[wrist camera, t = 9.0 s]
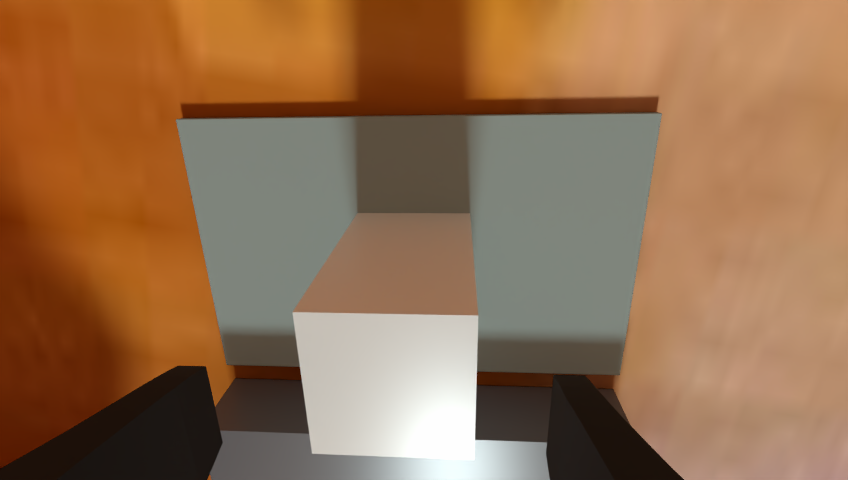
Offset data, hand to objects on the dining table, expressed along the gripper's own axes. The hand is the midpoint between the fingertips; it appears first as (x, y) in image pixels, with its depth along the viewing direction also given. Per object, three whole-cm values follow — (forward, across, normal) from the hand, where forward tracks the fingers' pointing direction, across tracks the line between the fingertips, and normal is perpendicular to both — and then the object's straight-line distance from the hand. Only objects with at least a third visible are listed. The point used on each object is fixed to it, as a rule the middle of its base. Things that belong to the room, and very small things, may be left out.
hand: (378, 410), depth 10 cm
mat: (+8, 0, 0) cm, 8 cm away
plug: (+8, 0, 0) cm, 8 cm away
